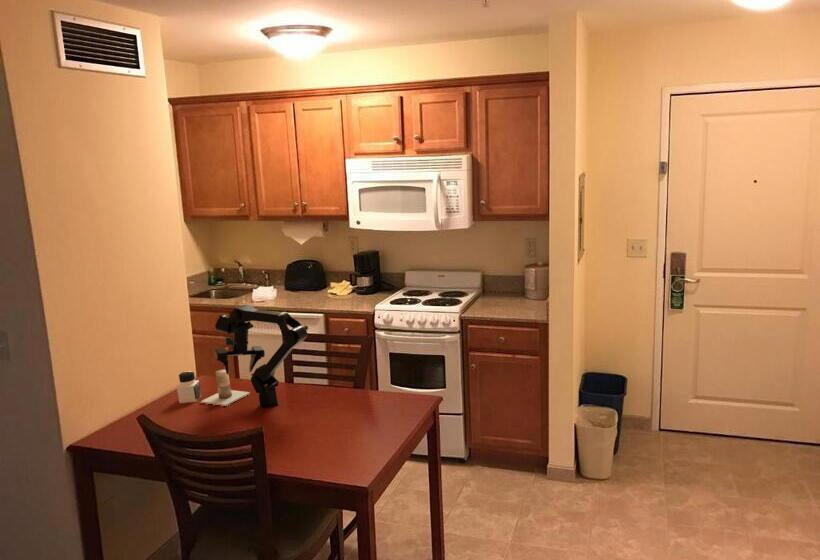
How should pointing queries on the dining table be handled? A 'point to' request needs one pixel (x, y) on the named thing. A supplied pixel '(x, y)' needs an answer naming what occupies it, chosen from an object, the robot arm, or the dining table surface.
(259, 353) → the robot arm
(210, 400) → the white square tile
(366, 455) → the dining table surface
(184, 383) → the medicine bottle
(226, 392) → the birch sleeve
